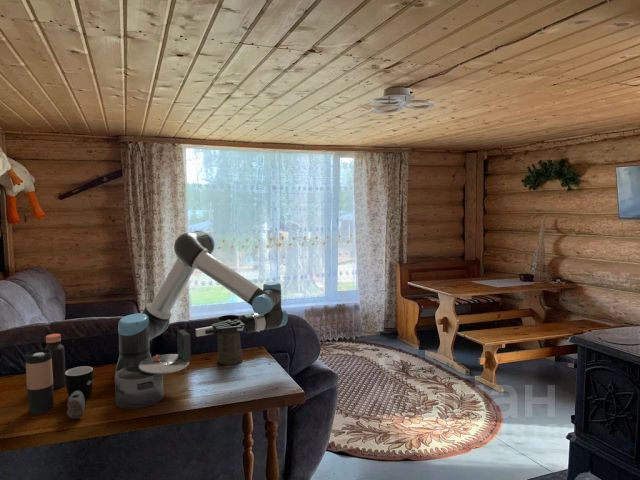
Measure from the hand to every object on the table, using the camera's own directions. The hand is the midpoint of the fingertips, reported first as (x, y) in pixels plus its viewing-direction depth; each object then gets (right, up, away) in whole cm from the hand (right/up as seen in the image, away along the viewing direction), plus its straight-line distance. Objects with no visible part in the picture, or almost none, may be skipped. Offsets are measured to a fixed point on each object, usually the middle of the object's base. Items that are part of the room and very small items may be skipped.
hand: (196, 332), depth 172 cm
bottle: (-55, -21, +1) cm, 58 cm away
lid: (-10, -11, -6) cm, 16 cm away
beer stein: (+7, -18, +30) cm, 36 cm away
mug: (-40, -22, -8) cm, 46 cm away
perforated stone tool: (-35, -23, -20) cm, 46 cm away
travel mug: (-48, -23, -18) cm, 56 cm away
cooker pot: (-18, -22, -10) cm, 30 cm away
